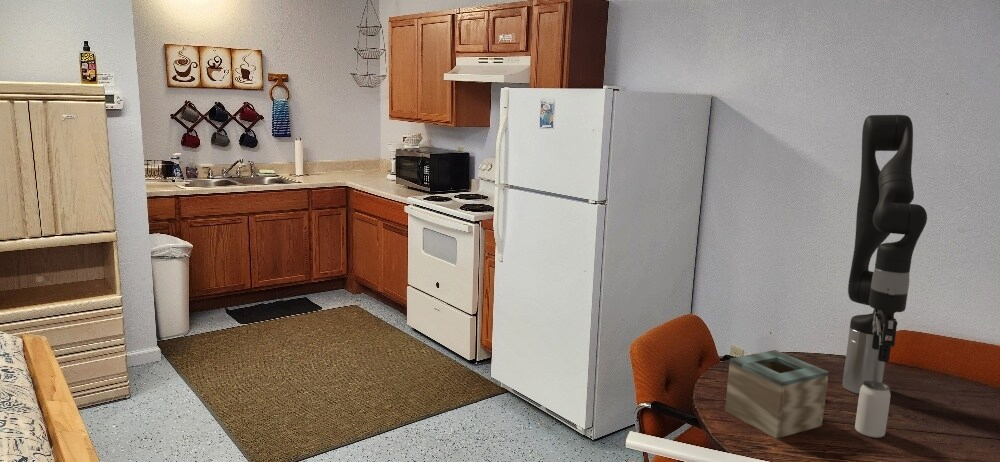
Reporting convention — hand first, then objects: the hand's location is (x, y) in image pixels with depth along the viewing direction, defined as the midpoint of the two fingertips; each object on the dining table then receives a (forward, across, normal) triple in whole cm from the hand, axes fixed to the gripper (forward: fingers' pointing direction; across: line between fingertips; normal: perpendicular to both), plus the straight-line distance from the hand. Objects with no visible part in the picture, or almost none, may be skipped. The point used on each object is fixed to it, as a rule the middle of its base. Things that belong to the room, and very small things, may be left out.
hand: (879, 355), depth 161 cm
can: (+20, 0, 0) cm, 20 cm away
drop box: (+20, +2, -22) cm, 29 cm away
